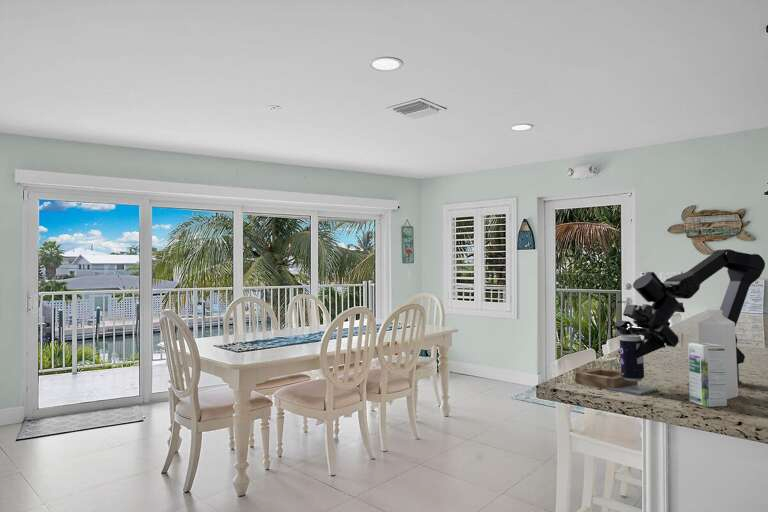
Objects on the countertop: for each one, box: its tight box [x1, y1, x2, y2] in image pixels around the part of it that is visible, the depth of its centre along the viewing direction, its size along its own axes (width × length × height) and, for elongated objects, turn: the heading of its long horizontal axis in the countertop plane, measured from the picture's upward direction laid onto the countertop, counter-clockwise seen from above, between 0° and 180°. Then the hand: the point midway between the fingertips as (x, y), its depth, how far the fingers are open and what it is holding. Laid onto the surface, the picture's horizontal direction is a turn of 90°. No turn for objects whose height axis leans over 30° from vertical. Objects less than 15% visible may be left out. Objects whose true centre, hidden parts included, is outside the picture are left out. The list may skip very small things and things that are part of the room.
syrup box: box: [687, 342, 728, 408], centre depth 122 cm, size 6×6×14 cm
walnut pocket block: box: [574, 367, 639, 390], centre depth 146 cm, size 12×12×3 cm
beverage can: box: [619, 334, 645, 382], centre depth 138 cm, size 6×6×12 cm
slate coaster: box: [607, 384, 658, 396], centre depth 137 cm, size 9×9×1 cm
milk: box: [697, 309, 739, 400], centre depth 130 cm, size 6×6×22 cm
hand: (627, 355), depth 138 cm, fingers closed on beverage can, 6 cm apart
